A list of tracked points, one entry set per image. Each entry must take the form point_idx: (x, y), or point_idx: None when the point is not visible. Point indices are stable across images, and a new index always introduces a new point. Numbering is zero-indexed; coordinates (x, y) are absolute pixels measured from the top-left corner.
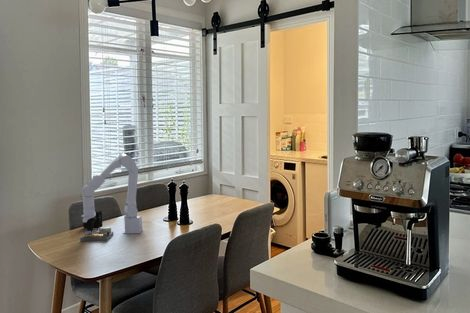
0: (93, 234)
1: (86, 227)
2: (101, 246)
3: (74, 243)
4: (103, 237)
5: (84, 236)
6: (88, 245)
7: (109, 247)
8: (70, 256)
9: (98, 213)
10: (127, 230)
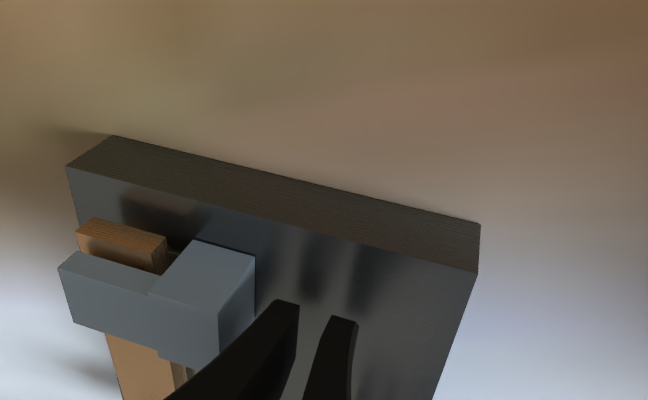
0: (148, 367)
1: (194, 380)
2: (20, 348)
3: (21, 50)
4: None
5: (152, 226)
6: (8, 245)
7: (18, 393)
8: None
9: None
10: None
